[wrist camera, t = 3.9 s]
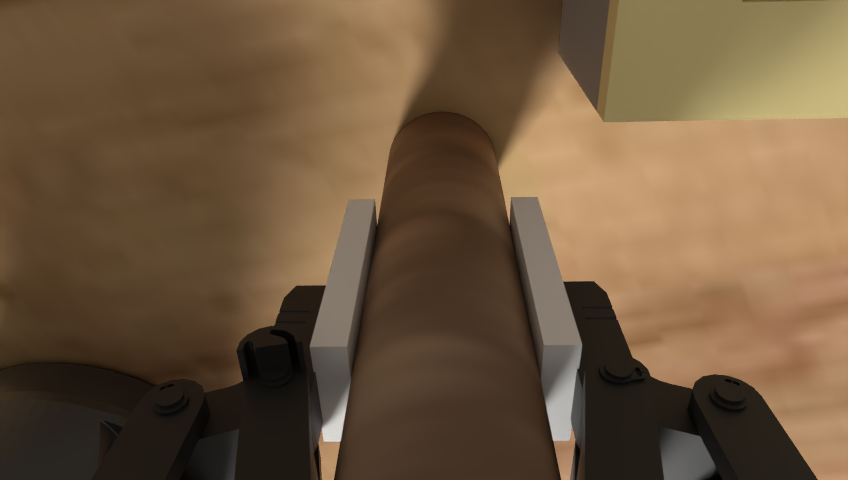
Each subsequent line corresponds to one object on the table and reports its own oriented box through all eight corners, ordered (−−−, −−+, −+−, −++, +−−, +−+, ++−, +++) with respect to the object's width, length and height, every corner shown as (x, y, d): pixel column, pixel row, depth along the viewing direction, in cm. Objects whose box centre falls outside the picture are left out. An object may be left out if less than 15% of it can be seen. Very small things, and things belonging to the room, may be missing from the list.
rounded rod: (391, 211, 25) (333, 644, 11) (385, 113, 23) (305, 491, 9) (494, 209, 25) (566, 645, 11) (497, 111, 23) (592, 491, 9)
